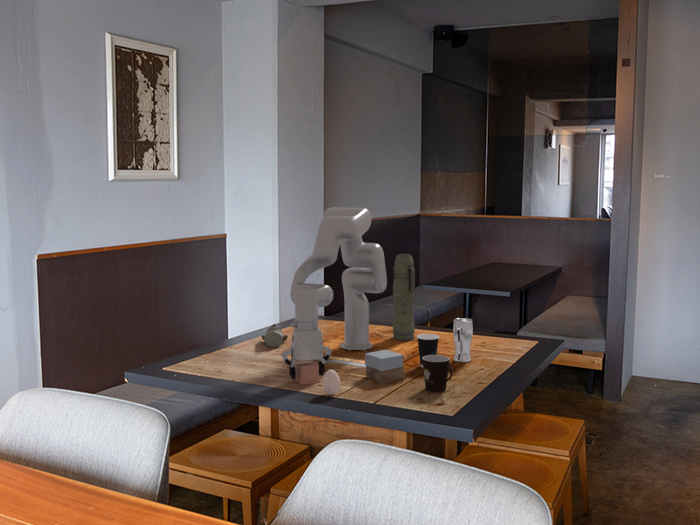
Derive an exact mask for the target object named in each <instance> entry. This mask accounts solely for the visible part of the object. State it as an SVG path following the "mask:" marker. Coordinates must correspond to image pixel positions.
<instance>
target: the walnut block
mask: <svg viewBox="0 0 700 525" xmlns="http://www.w3.org/2000/svg"><path fill="white" fill-rule="evenodd" d="M404 376H405V367H404V366H403V367H400V368H394V369H389V370H384V371H380V370H377V369H375V368H372V367H369V366H366V365H365V377H366V378H367V379H370V380H372V381H374V382H377V383H380V384H381V385H382V384H387V383H391V382H392V383H393V382H396V381H402V380H404V379H405V377H404Z"/></svg>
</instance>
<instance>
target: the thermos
mask: <svg viewBox="0 0 700 525" xmlns="http://www.w3.org/2000/svg"><path fill="white" fill-rule="evenodd" d="M392 276H393V278H392V281H393V282H392V283H393V284H392V297H393V302H394V303H393V309H394V310H393V318H394V319H393V321H392V336H393V337H392V339H393V340H395V341H400V342H401V341H403V342H404V341H413V340H414V339H415V337H414V336H415V324H416V323H415V320H414V298H415V288H416V269H415V267H414V259H413V256H412V255H411V254H410V253H398V254H396V256H395V259H394V265H393V267H392Z"/></svg>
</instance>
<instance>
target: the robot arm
mask: <svg viewBox="0 0 700 525" xmlns="http://www.w3.org/2000/svg"><path fill="white" fill-rule="evenodd" d="M371 223H372V214H371V212H370V210H369V209H367V208H365V207H346V206H345V207H341V206H339V207H337V206H334V207H333V206H332V207H329V208H327V209H326V210H325V211H324V214H323V218H322V219H321V220H320V222H319V225H318V229H317V234H316V238H315V241H314V246H313V250H312V253H311V255H310V256H308V257H307V258H306V259H305V260H304V261H303V262H302V263H301V264H300V265H299V267H297V269H296V270H295V272H294V275H293V279H292V283H291V287H290V300H291V301H292V303H293V304H294V320H293V322H291V323H290V327H291V328H294V329H293V330H292V335H291V342H290V343H291V344H290V348H288V349H287V350H285V351H283V352H281V354H280V356H281V358H282V360H283V362H284V363H285V364H287V365H288V368H289V369H288V371H289V373H288V374H289V376H290V378H291V379H293V380H296V368H295V364H296V363H297V362H303V361H312V360H313V361H317V360H318V363H317V364H318V365H319V376H321V377H324V373H326V372H325V364H326V363H327V361H328V360H329V359H330V356H331V355H332V352H333V349H331V348H330V347H327V346H325V345H324V341H323V340H324V339H323V335H322V334H323V333H322V330H321V328H319V308H324V307H327V306H329V305H330V304H331V303H332V301H333V300H334V290H333V289H332V287H331V286H329V285H327V284H324V283H323V284H322V283H311V282H310V283H308V282H306V281H307V279H308V278H309V276H310V275H312V274H313V273H315V272H317V271H318V270H322V269H324V268H327V267H329V266H332V265H333V264H335V263H336V262H337V260H338V254H339V249H340V251H341V252H340V253H341V257H342V258H341V259H342V262H343V264H344V265H345V266H347V267H349V268H347V269H346V268H345V270H343V272H342V274H341V282H342V284H341V285H342V287H343V288H342V290H343V299H344V342H342V343H340V348H341V349H342V348H343V349H342V350H345V349H347V351H351V350H363V351H368V350H367V349H369V350H371V349H373V347H374V346H373V343H372V342H370V305H369V304H370V303H369V300H368V298H367V296H366V295H365V293H370V294H381V293H383V292H385V290H386V289H387V285H388V277H387V276H388V275H387V270H386V269H387V267H386V261H385V260H386V259H385V254H384V250H383V248H382V246H381V245H380V244H379V243H375V242H364V241H363V237H362V236H363V235H364V234H365V233H366V232H368V230H369V229H370V227H371ZM324 351H325V353H324ZM289 355H290V357H291V358H290V360H289V358H288V356H289Z"/></svg>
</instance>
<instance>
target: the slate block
mask: <svg viewBox="0 0 700 525" xmlns="http://www.w3.org/2000/svg"><path fill="white" fill-rule="evenodd" d="M364 364H365V367H366V366H369V367H372V368H375V369H377V370H380V371H384V370H389V369H394V368H400V367H404V354H401V353H399V352H394V351H392V350H389V349H382V350H377V351H372V352H366V353H364Z"/></svg>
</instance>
